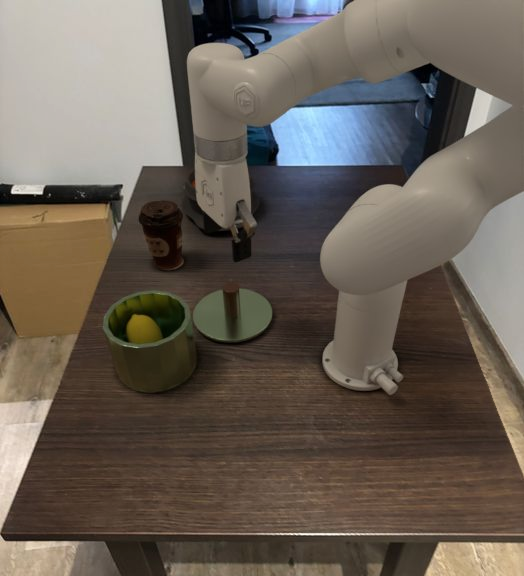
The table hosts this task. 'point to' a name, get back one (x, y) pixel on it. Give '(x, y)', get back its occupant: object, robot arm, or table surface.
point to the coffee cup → (163, 233)
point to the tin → (158, 355)
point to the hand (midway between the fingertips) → (227, 244)
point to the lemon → (142, 330)
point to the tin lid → (232, 314)
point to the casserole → (195, 210)
